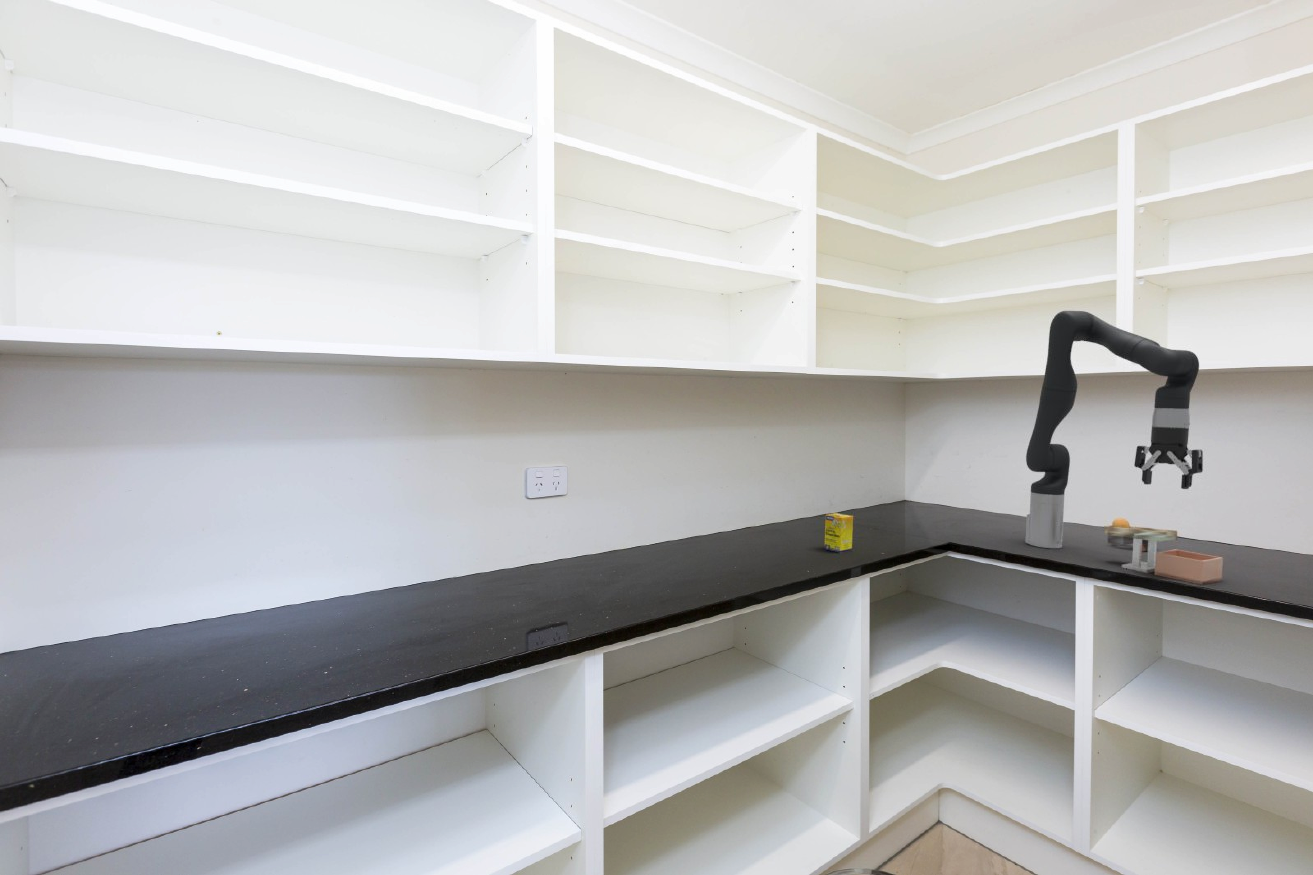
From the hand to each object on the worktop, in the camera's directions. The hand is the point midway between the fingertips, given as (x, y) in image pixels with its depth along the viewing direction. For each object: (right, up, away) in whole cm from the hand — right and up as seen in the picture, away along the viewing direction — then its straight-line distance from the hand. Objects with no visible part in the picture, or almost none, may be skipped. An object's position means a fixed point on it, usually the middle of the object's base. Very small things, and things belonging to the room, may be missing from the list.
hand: (1165, 486), depth 160 cm
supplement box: (-80, -22, +25) cm, 86 cm away
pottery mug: (+19, -23, +34) cm, 45 cm away
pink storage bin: (+5, -24, 0) cm, 25 cm away
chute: (-2, -17, +7) cm, 19 cm away
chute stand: (+1, -24, +9) cm, 25 cm away
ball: (-1, -12, +14) cm, 18 cm away
